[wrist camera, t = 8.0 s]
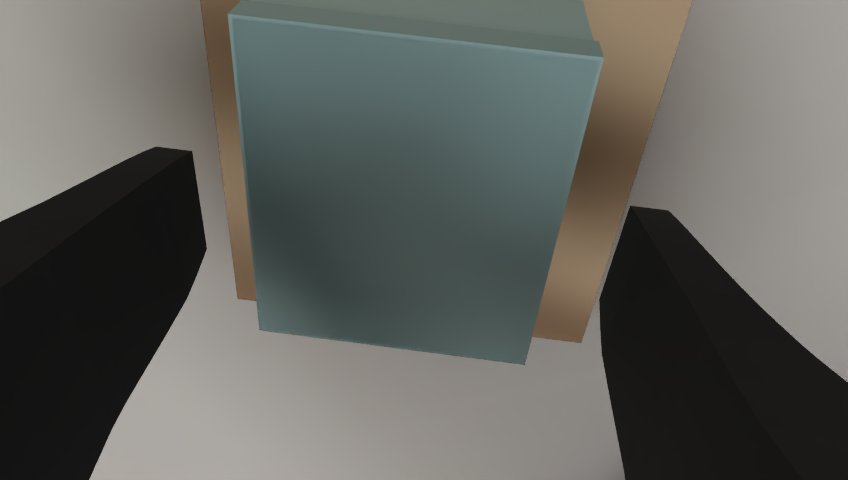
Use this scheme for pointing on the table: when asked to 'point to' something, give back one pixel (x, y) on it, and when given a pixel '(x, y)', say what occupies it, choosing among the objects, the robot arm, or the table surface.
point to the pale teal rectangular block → (409, 164)
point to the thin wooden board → (595, 170)
